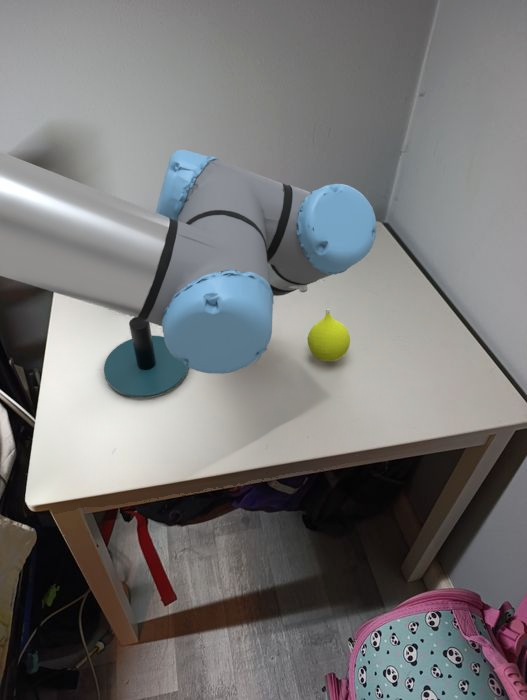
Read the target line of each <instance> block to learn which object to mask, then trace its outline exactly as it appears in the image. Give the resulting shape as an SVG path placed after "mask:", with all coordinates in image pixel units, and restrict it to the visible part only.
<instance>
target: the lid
mask: <svg viewBox="0 0 527 700" xmlns="http://www.w3.org/2000/svg"><path fill="white" fill-rule="evenodd" d="M128 326H129V332H130V336H131V338H130V339H128V340H125V341H123V342H121V343H120V344H118V345H117V346H116V347H115V348H113V350H112V351H111V352H110V353H109V354H108V355H107V357H106V359H105V361H104V365H103V371H104V372H103V373H104V377H105V381H106V382H107V384H108V385H109V386H110V388H112V389H113V390H114V391H116V392H117V393H119V394H120V395H122V396H123V395H124V396H127V397H130V398H137V399H139V398H140V399H141V398H142V399H143V398H151V397H156V396H161V395H163V394H165V393H168V392H170V391H171V390H173V389H174V388H176V387H177V386H178V385H179V384H181V382H182V381H183V380H184V379H185V378H186V375H187V374H188V370H189V367H187V366H185V364H184V363H183V362H182V361H180V360H179V359H178V358H176V357H174V356H173V355H172V354H171V353H170V351H169V350H168V348H167V346H166V344H165V341H164V336H160V335H152V330H151V323H150V322H148V321H145V320H142V319H138V318H136V317H133V318H131V319H130V320H129V322H128Z"/></svg>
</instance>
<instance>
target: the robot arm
mask: <svg viewBox="0 0 527 700" xmlns="http://www.w3.org/2000/svg"><path fill="white" fill-rule="evenodd" d="M158 197H159V198H158V201H157V205H156V210H155V211H153V210H151V209H148V208H146V207H143V206H140V205H138V204H135V203H132V202H130V201H127V200H125V199H122V198H120V197H117V196H115V195H112V194H110V193H107V192H104V191H103V190H100V189H97V188H95V187H91V186H89V185H87V184H84V183H81V182H80V181H76V180H74V179H71V178H69V177H66V176H64V175H62V174H59V173H56V172H54V171H51V170H48V169H45V168H43V167H41V166H38V165H35V164H33V163H31V162H28V161H25V160H23V159H21V158H18V157H15V156H12V155H10V154H8V153H6V152H3V151H0V277H3V278H7V279H10V280H13V281H16V282H19V283H23V284H26V285H30V286H32V287H36V288H38V289H41V290H46V291H49V292H53V293H54V294H58V295H62V296H65V297H68V298H71V299H75V300H78V301H81V302H84V303H87V304H90V305H94V306H98V307H100V308H103V309H108V310H110V311H113V312H117V313H120V314H123V315H127V316H130V317H133V318H134V317H136V318H138V319H142V320H145V321H148V322H149V323H150V324H153V325H156V326H160V327H162V333H163V334H162V335H163V337H164V341H165V344H166V346H167V348H168V350H169V351H170V353H171V354H172V355H173V356H174V357H176V358H178V359H179V360H180V361H182V362H183V363H184V364H185V366H187V367H188V369H191V370H194V371H196V372H200V373H203V374H230V373H233V372H237V371H240V370H242V369H244V368H247V367H249V366H250V365H252V364H253V363H254V362H257V360H259V359H260V357H262V355H264V353H265V352H266V351H267V350H268V347H269V344H270V341H271V338H272V334H273V313H274V312H273V310H274V297H275V296H276V297H280V296H286V295H288V294H290V293H293V292H295V291H297V290H299V292H300V293H306V292H307V291H308V289H309V288H308V285H310V284H314V283H316V282H318V281H319V280H322V279H324V278H328V277H330V276H333V275H338V274H343V273H344V272H346V271H347V270H348V269H349V268H351V267H353V266H354V265H356V264H357V263H359V262H361V261H362V260H363V259H364V258H365V257H366V256H367V255H368V254H369V253H370V251H371V249H372V248H373V246H374V243H375V240H376V238H377V219H376V215H375V211H374V209H373V206H372V205H371V204H370V202H369V200H368V199H367V198H366V197H365V195H363V194H362V193H361V192H360V191H359V190H357V189H356V188H355V187H352V186H350V185H347V184H343V183H333V184H331V183H330V184H328V185H327V184H326V185H323V186H322V187H320V188H315V189H314V190H312V191H311V192H310V191H308V190H305V189H302V188H299V187H296V186H294V185H291V184H285V183H283V182H279V181H277V180H274V179H271V178H269V177H266V176H263V175H261V174H258V173H255V172H253V171H250V170H247V169H245V168H242V167H239V166H237V165H234V164H231V163H228V162H225V161H223V160H220V159H219V158H218V157H216V156H212V155H211V156H208V155H204V154H201V153H199V152H194V151H191V150H188V149H178V150H175V152H173V153H172V154H171V156H170V158H169V160H168V163H167V167H166V170H165V174H164V178H163V182H162V185H161V190H160V192H159V196H158Z"/></svg>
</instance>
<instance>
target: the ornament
mask: <svg viewBox="0 0 527 700" xmlns="http://www.w3.org/2000/svg"><path fill="white" fill-rule="evenodd" d="M327 305H329V302H327ZM350 344H351V337H350V332H349V330H348V329H347V327H346V326H345V325H344V324H343V323H341V322H340V321H338V320H336V319H334V318H333V317H332V315H331V309H330V308H326V309H325V315H324V317H323V318H322V319H321V320H319V321H317V322H316V323H315V324H313V326H312V327H311V328H310V330H309V331H308V336H307V347H308V349H309V351H310V353H311V355H313V356H314V357H315V358H316V359H318V360H319V361H322V362H335V361H338V360H340V359H341V358H342V357H344V356H345V355H346V354H347V352H348V350H349V349H350Z"/></svg>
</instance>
